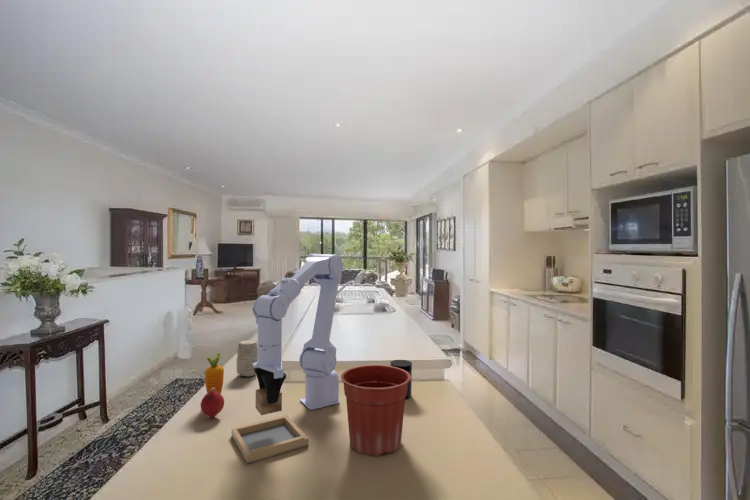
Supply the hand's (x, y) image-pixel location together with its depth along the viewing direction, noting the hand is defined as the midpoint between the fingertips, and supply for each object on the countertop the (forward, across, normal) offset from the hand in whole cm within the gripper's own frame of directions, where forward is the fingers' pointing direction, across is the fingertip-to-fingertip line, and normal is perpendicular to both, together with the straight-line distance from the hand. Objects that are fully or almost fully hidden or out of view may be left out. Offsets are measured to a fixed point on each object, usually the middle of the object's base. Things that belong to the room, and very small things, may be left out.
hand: (269, 398), depth 95 cm
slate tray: (+9, +4, -1) cm, 9 cm away
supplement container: (+8, -2, +42) cm, 43 cm away
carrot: (+9, -24, -8) cm, 27 cm away
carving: (+9, -45, +6) cm, 47 cm away
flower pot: (+9, +17, +20) cm, 28 cm away
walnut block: (+2, 0, 0) cm, 3 cm away
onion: (+9, -16, -10) cm, 21 cm away
